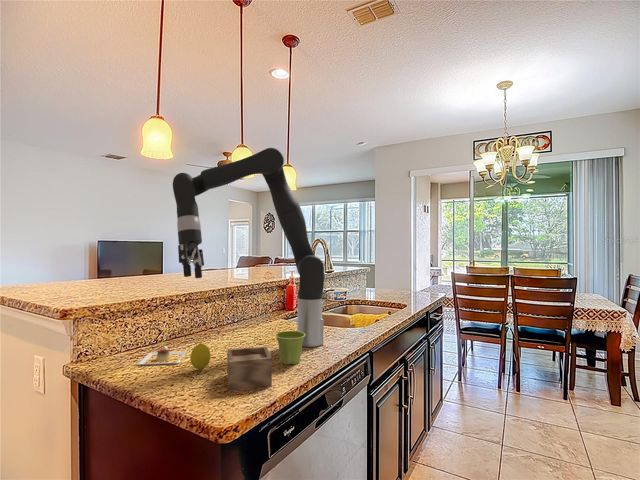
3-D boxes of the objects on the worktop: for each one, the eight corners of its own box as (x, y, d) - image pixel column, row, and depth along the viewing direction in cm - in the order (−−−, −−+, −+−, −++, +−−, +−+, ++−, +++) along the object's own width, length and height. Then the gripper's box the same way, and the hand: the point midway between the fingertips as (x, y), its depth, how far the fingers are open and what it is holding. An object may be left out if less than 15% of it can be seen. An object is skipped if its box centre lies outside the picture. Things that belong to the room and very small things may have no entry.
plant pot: (293, 369, 104) (293, 340, 104) (269, 363, 109) (269, 335, 109) (310, 360, 112) (311, 333, 112) (287, 355, 117) (287, 329, 117)
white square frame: (136, 368, 105) (136, 352, 105) (149, 355, 117) (149, 341, 117) (178, 366, 107) (178, 350, 107) (186, 354, 118) (187, 340, 119)
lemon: (193, 367, 104) (193, 340, 104) (212, 367, 105) (212, 340, 105) (187, 374, 99) (188, 346, 99) (207, 373, 99) (208, 345, 99)
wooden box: (266, 372, 101) (266, 346, 102) (271, 387, 91) (272, 358, 91) (227, 375, 98) (227, 349, 98) (228, 391, 88) (228, 361, 88)
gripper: (190, 224, 112) (195, 274, 110) (208, 232, 126) (212, 276, 124) (168, 228, 113) (172, 278, 110) (188, 236, 127) (191, 280, 124)
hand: (193, 277), depth 117 cm, fingers open, 8 cm apart
